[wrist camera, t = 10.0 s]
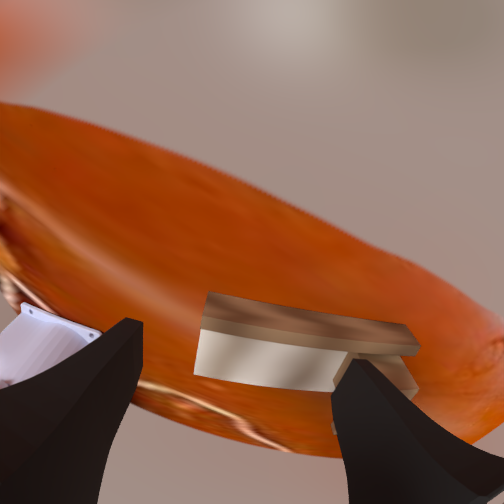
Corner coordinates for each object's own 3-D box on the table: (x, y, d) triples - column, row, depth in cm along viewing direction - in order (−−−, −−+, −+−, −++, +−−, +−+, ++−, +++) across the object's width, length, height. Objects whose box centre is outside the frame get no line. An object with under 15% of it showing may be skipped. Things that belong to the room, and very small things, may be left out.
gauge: (313, 410, 22) (322, 455, 17) (352, 342, 19) (374, 390, 15) (351, 411, 22) (364, 452, 18) (393, 346, 20) (419, 389, 15)
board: (195, 363, 21) (190, 390, 19) (208, 291, 19) (202, 315, 16) (370, 384, 23) (379, 406, 20) (405, 324, 20) (421, 346, 18)
